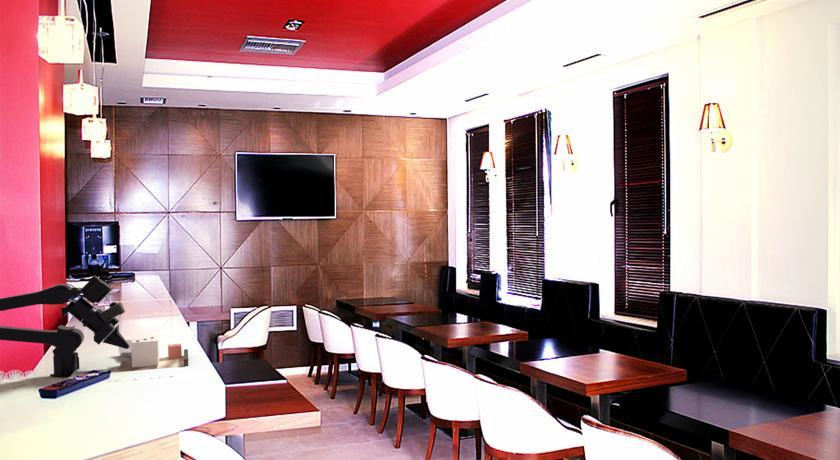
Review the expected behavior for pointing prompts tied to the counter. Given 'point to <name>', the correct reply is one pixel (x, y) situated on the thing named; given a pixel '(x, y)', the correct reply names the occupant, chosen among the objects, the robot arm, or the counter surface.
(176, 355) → the terracotta die
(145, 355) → the ivory die
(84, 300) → the robot arm
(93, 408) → the counter surface
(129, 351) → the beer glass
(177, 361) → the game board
